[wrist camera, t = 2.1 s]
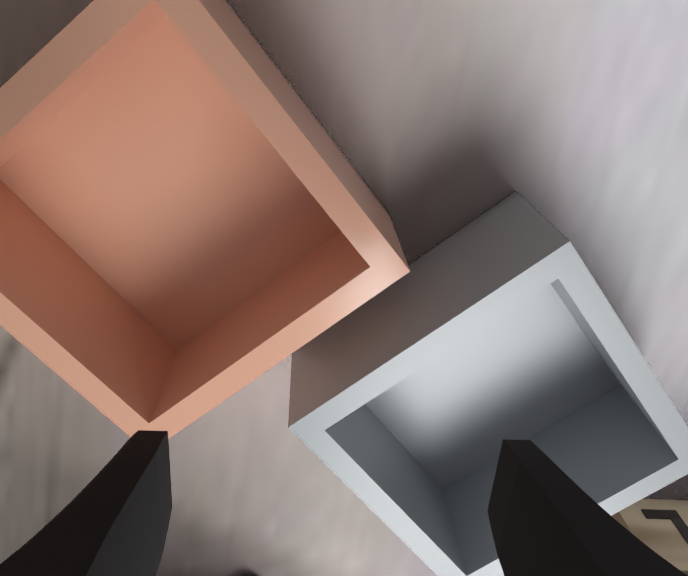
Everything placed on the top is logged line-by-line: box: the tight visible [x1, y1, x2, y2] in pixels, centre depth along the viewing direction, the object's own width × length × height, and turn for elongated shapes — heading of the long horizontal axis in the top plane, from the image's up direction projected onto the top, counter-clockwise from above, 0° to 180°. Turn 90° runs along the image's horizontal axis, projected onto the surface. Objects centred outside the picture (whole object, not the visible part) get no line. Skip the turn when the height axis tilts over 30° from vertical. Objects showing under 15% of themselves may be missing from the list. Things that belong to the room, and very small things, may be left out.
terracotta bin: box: [0, 0, 410, 439], centre depth 19 cm, size 10×10×5 cm
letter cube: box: [619, 499, 688, 576], centre depth 27 cm, size 4×4×4 cm
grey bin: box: [288, 191, 688, 576], centre depth 22 cm, size 10×10×5 cm
